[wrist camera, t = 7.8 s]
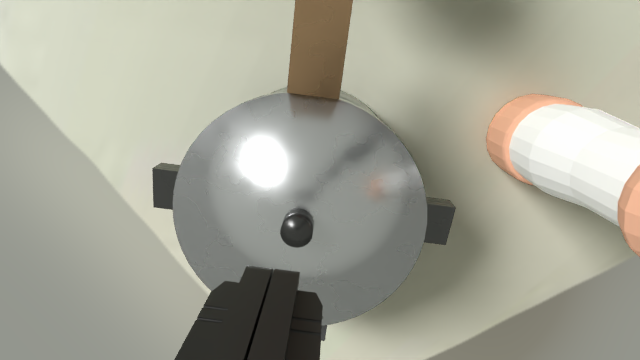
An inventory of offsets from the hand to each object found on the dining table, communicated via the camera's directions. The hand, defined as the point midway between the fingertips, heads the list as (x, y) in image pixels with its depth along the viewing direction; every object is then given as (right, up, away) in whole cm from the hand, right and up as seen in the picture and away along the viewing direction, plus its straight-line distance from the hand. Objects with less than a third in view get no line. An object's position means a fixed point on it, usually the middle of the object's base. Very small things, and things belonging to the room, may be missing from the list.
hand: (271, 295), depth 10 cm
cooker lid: (0, +3, +14) cm, 14 cm away
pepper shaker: (+20, +7, +22) cm, 31 cm away
